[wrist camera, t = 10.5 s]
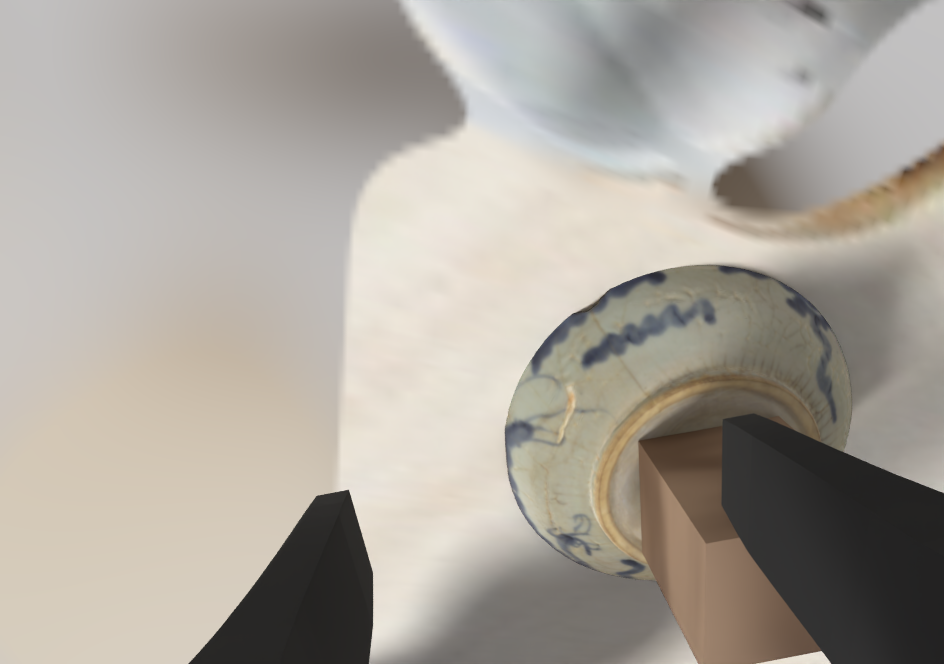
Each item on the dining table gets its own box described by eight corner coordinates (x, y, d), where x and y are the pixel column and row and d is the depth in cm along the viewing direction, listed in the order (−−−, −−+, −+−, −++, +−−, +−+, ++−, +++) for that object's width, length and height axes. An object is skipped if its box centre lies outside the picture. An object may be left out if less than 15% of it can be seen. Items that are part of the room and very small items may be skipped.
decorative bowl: (599, 187, 20) (433, 519, 25) (639, 205, 17) (438, 586, 21) (911, 334, 24) (718, 601, 28) (996, 373, 21) (761, 669, 25)
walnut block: (642, 552, 22) (703, 673, 17) (638, 440, 20) (706, 543, 16) (770, 528, 22) (864, 642, 18) (778, 415, 20) (887, 510, 16)
